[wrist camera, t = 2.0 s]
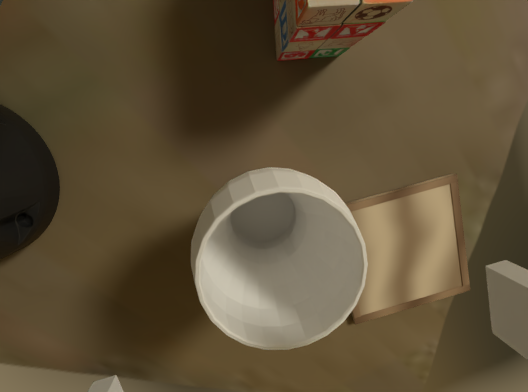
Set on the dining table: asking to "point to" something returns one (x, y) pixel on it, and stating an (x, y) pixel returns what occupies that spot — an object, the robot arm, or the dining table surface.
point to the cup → (277, 259)
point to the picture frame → (411, 247)
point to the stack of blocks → (327, 25)
